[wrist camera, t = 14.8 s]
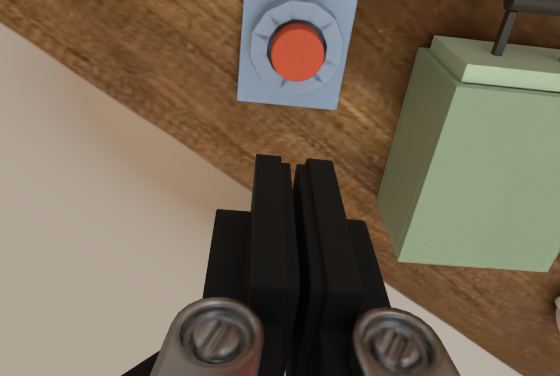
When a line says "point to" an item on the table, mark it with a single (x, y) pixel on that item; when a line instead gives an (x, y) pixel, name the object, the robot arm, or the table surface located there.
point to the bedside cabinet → (473, 174)
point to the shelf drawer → (504, 55)
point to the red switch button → (297, 52)
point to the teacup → (558, 311)
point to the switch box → (257, 51)
